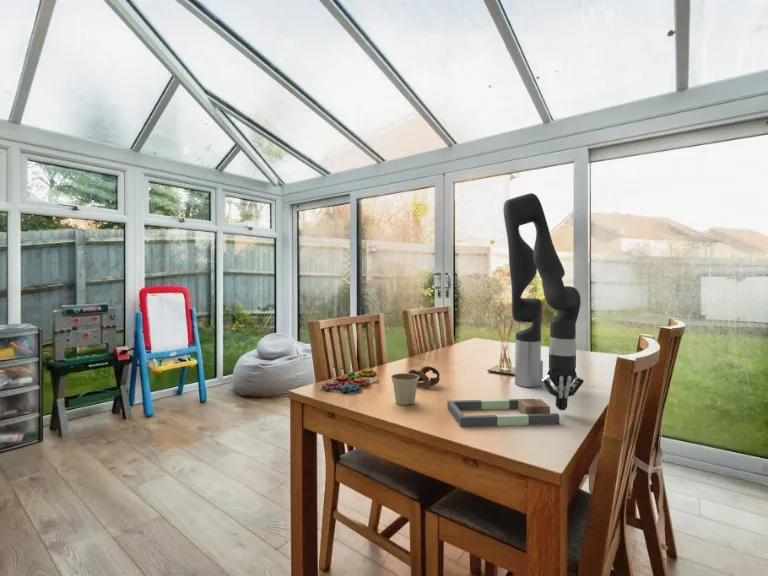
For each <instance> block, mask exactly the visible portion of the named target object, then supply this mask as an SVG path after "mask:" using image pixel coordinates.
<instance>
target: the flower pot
mask: <svg viewBox="0 0 768 576" xmlns="http://www.w3.org/2000/svg"><path fill="white" fill-rule="evenodd" d="M390 379H391V380H392V383H393V392H394V397H395V399H394V400H395V403H396V404H398V405H401V406H409V405H414V404H415V402H416V401H415V400H416V394H417V392H416V391H417V387H418V383H419V382H418V379H419V376H418V375H416V374H410V373H409V372H407V373H405V372H404V373H402V372H401V373H395V374H392V375H390Z"/></svg>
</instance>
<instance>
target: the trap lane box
mask: <svg viewBox="0 0 768 576" xmlns="http://www.w3.org/2000/svg"><path fill="white" fill-rule="evenodd" d="M518 399H519V398H516V399H514V398H513V399H512V398H509V399H507V398H506V399H501V398H500V399H475V400H474V399H470V400H466V399H465V400H464V399H463V400H457V399H456V400H447V407H446V409H447V410H448V411H449V413H450V414H451V416H452V417H453V419H454V420H455V421H456V423H457V424H458V425H459V426H460V428H463V427H464V428H465V427H495V426H501V427H502V426H529V425H530V426H531V425H534V424H540V425H550V424H549V423H559V424H560V414H558V413H554V412H553V413H550V414H520V413H519V414H484V415H480V414H478V415H477V414H476V415H464V414H463V412H462V411H469V410H470V411H473V410H512V409H511V408H518ZM534 426H535V425H534Z"/></svg>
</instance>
